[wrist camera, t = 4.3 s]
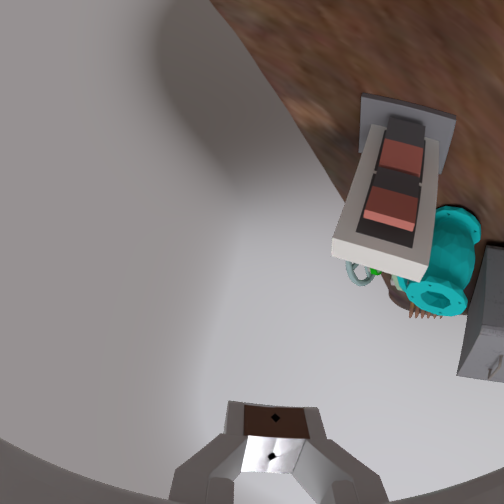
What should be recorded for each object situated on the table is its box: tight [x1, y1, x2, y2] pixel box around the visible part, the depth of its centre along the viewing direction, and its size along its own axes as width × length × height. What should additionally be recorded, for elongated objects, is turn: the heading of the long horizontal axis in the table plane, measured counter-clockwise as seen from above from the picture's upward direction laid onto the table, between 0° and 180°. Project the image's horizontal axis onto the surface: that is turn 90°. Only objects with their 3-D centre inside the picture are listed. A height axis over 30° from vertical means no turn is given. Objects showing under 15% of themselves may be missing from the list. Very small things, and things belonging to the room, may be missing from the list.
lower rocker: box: [379, 117, 425, 177], centre depth 41 cm, size 1×6×10 cm, turn 101°
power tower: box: [331, 93, 456, 282], centre depth 41 cm, size 12×16×27 cm
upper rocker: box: [363, 166, 420, 231], centre depth 36 cm, size 1×6×10 cm, turn 101°
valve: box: [346, 206, 481, 316], centre depth 61 cm, size 14×18×30 cm
